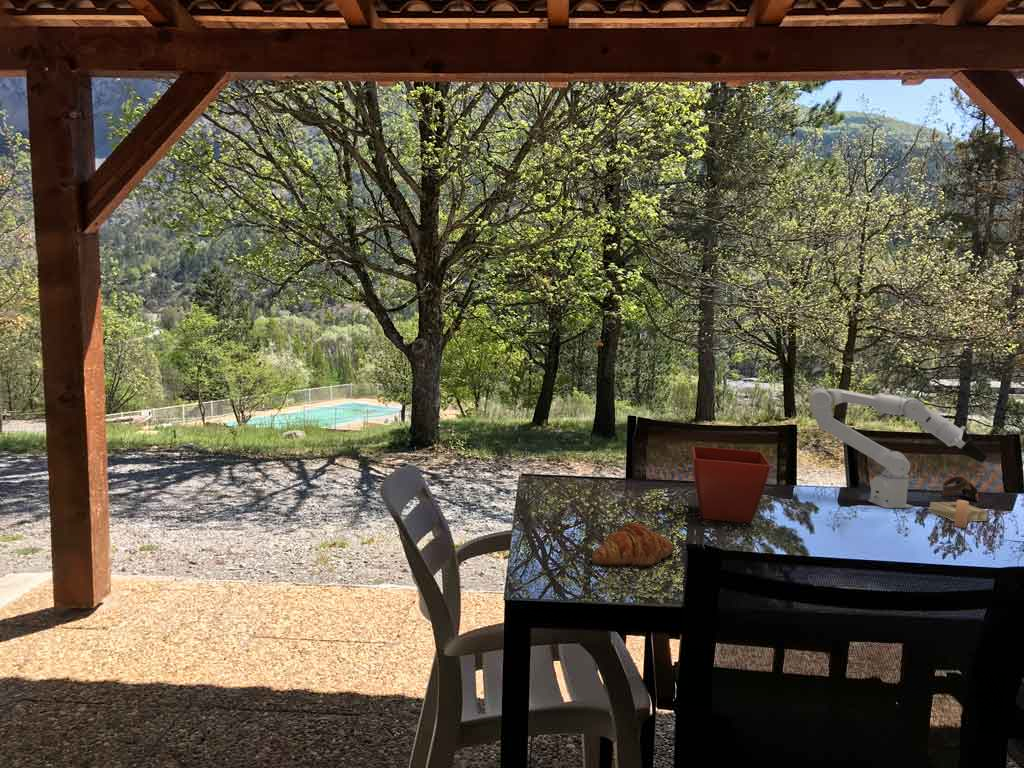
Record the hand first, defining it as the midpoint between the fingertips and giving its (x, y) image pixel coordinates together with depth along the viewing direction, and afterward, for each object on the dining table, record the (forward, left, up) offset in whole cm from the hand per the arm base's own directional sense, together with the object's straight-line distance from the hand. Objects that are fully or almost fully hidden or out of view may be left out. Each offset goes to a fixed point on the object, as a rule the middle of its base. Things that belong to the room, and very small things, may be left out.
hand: (982, 456), depth 215 cm
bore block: (-8, -2, -17) cm, 19 cm away
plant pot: (-78, +1, -17) cm, 79 cm away
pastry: (-116, -32, -18) cm, 121 cm away
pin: (-15, -11, -17) cm, 25 cm away
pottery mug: (+12, +19, -18) cm, 28 cm away
